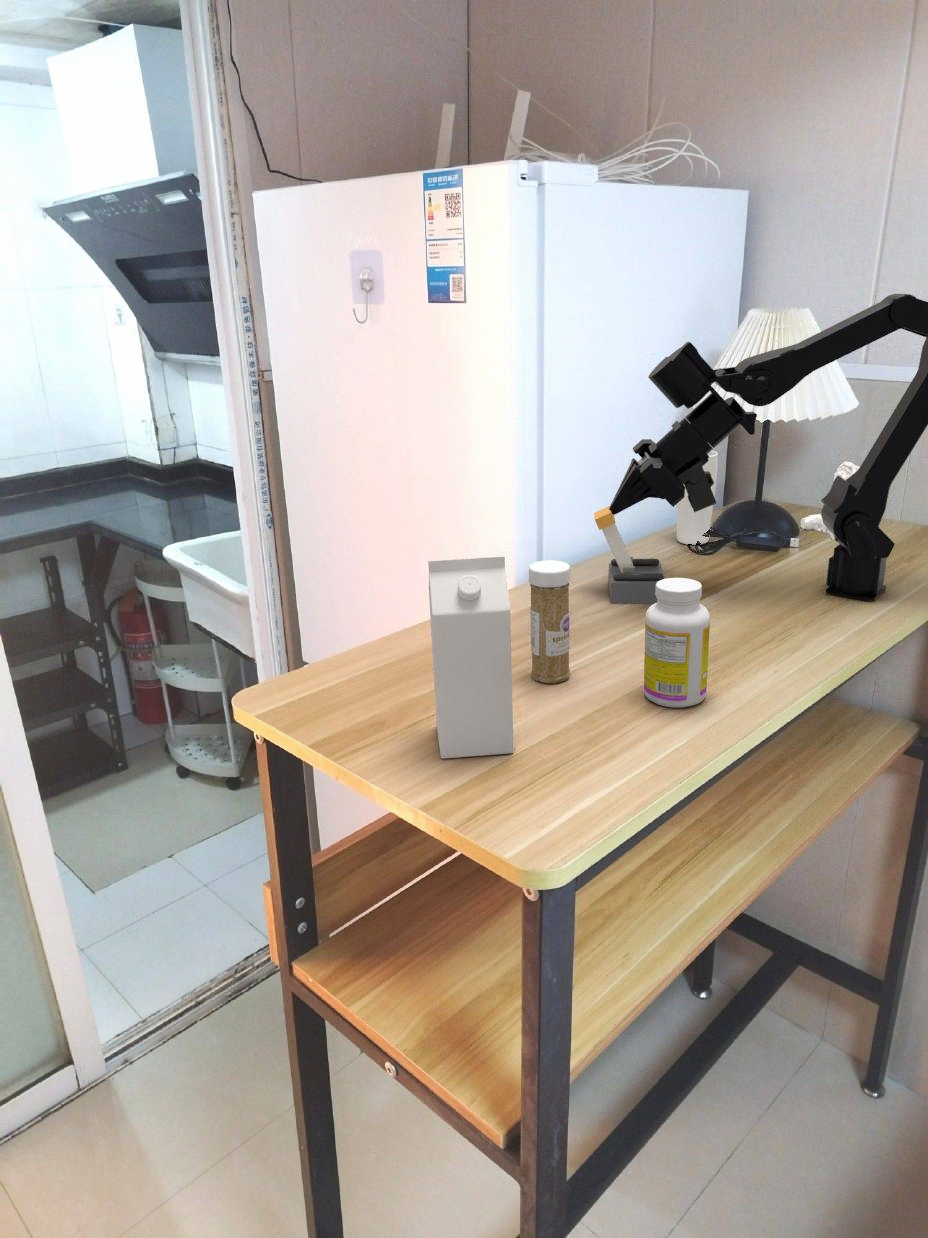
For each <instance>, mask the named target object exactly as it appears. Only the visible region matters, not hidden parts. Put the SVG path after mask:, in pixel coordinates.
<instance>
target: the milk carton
mask: <svg viewBox="0 0 928 1238" xmlns="http://www.w3.org/2000/svg"><path fill="white" fill-rule="evenodd" d="M505 560H506V559H505V555H497V556H496V555H495V556H481V557H465V558H464V557H463V558H451V559H450V558H449V559H436V560H434V559H433V560H432V559H431V560H428V597H429V599H428V600H429V612H430V614H429V616H430V628H431V629H430V630H431V631H430V632H431V634H430V635H431V650H432V651H431V652H432V667H433V669H432V670H433V686H434V703H435V705H434V707H435V719H436V722H435V723H436V728H437V729H436V730H437V739H438V746H439V755H440V758H441V759H453V758H454V759H455V758H466V757H467V758H468V757H479V756H480V757H481V756H493V755H505V754H507V755H508V754H513V753H514V720H513V719H514V714H513V711H514V710H513V673H512V672H513V671H512V670H513V668H512V665H513V664H512V634H511V633H512V630H511V628H512V627H511V626H512V622H511V620H512V619H511V605H510V604H511V603H510V597H509V589H508V581H507V573H506V564H505V563H506V561H505Z"/></svg>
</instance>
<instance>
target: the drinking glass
mask: <svg viewBox="0 0 928 1238" xmlns="http://www.w3.org/2000/svg"><path fill="white" fill-rule="evenodd" d="M708 456H709V458H708V459H709V461H708V462H707V463H706V464H705V465H703V466H702V467H703V470H704V471H709V472H710V473H711V477H712V479H713V481H714V484H713V485H712V486H711V490H712V493H713V495H714V498H715V495H716V488H717V481H718V472H719V453H718V452H717V451H715V450H712V451H711V452H709V453H708ZM684 486H685V485H684ZM713 509H714V505H712V506H709V507H707V508H704V509H702V510H699V511H697V512H694V510H693V508H692V507H691V504H690V502H689V499H688V493H687V490H686V488H685V495H684V498H683V499H682V500H681V501H680V502H678V503H677V504H676V505H675V510H676V513H675V514H676V540H677V542H679V543H680V544H684V545H688V544H692V545H691V546H697V545H696V543H697V541H699V542H700V543H701V544H700V545H704V544H706V543H708V542H709V540H710V536H709V537H705V536H702V535H703V534H704V533H706V532H707V531H708V530H709V529H710V530H711V525H712V524H711V523H712V516H713ZM688 546H689V545H688Z"/></svg>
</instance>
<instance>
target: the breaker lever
mask: <svg viewBox="0 0 928 1238" xmlns="http://www.w3.org/2000/svg"><path fill="white" fill-rule="evenodd" d="M609 507H610V505H608V506H607V507H606V506H605V507H604V508H602V509H599V510H597V511H595V512H593V515H594V516H593V517H594V521H595V524H596V525H597V528H598V530H599V531H601V532H602V534H603V536H604V537H605V540H606V542H607V544H608V546H609V549H610V550H611V553H612V556H613V557H614V559H615V560H616V562H617V564H618V566H619V568H620V570H621V573H623V566H633V562H632V560H631V557H632V556H630V553H629V551H628V549H627V546H626V544H625V543H624V540H623V538H622V535H621V534H620V531H619V529H618V526H617V525H616V518H615V515H613V514H612V512H611V510H609Z"/></svg>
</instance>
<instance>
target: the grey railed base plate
mask: <svg viewBox="0 0 928 1238" xmlns="http://www.w3.org/2000/svg"><path fill="white" fill-rule="evenodd" d="M630 557H631V560H632V562H633V566H623V573H621V570H620V568H619V566H618V564H617V562H616V560H615V558H612V559H611V560H610V562H609V563H608V576H607V577H608V584H607V585H608V590H609V599H610V600H609V601H610V604H655V603H657V600H658V599H657V598H656V595H655V590H656V583H657V582H658V581H660V580H663V579H666V577H665V573H664V570H663V567H662V564H661V563H660V559H658V558H634V557H633V556H630Z"/></svg>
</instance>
